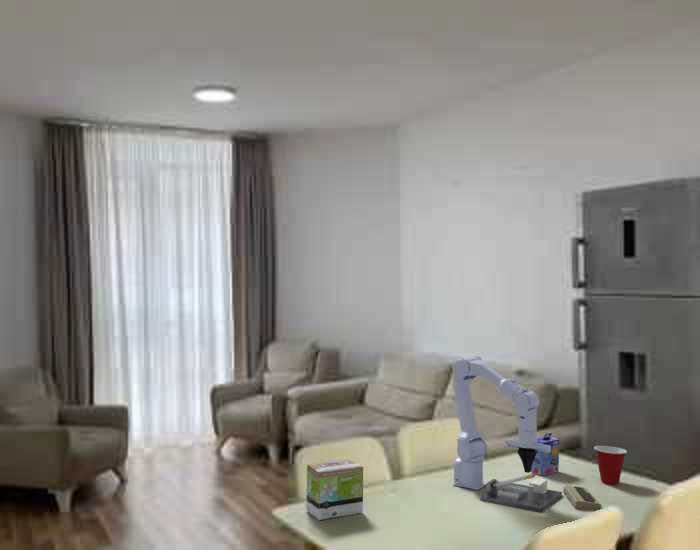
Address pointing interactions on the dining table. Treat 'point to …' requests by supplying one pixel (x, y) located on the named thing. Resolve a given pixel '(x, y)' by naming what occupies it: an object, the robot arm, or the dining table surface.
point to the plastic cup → (610, 463)
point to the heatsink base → (519, 496)
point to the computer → (581, 497)
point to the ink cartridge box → (547, 457)
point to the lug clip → (539, 485)
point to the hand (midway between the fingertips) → (527, 471)
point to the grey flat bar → (513, 480)
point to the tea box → (334, 489)
